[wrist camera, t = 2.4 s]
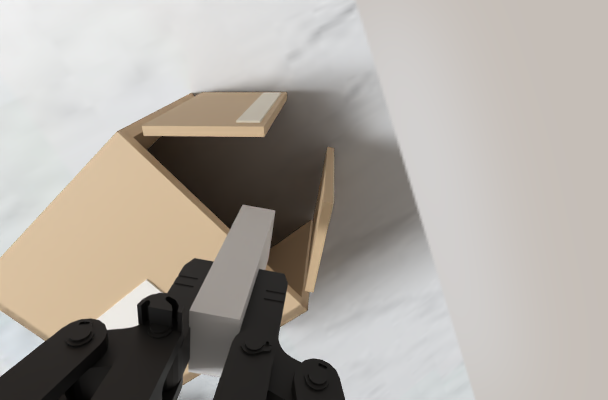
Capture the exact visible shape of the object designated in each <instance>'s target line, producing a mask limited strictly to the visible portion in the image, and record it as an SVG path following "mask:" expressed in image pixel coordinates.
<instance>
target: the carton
mask: <svg viewBox="0 0 608 400" xmlns="http://www.w3.org/2000/svg"><path fill="white" fill-rule="evenodd" d="M193 97H194V95H193V94H192V93H190V94H188V95H186V96H185V97H183V98H181V99H179V100H177V101H175V102H173V103H171V104H169V105H167V106H165V107H163V108H161V109H159V110H158V111H156V112H154V113H152V114H150V115H148V116H146V117H144V118H142V119H140V120H138V121H136V122H134V123H132V124H131V125H129V126H127V127H125V128H123V129H121V130H119V131H117V132H116V133H115V134H114V135H113V136H112V137H111V139H110V140H109V141H108V142H107V143H106V144H105V145H104V146H103V147H102V148H101V149H100V150H99V151H98V153H97V154H96V155H95V156H94V157H93V158H92V159H91V160H90V161H89V162H88V163H87V164H86V166H85V167H84V168H83V169H82V170H81V171H80V172H79V173H78V174H77V175H76V176H75V177H74V179H73V180H72V181H71V182H70V183H69V184H68V185H67V186H66V187H65V188H64V189H63V190H62V191H61V193H60V194H59V195H58V196H57V197H56V198H55V199H54V200H53V201H52V202H51V203H50V204H49V206H48V207H47V208H46V209H45V210H44V211H43V212H42V213H41V214H40V215H39V216H38V217H37V219H36V220H35V221H34V222H33V223H32V224H31V225H30V226H29V227H28V228H27V229H26V230H25V231H24V233H23V234H22V235H21V236H20V237H19V238H18V239H17V240H16V241H15V242H14V243H13V244H12V246H11V247H10V248H9V249H8V250H7V251H6V252H5V253H4V254H3V255H2V256H1V257H0V311H2V312H3V313H5V314H6V315H8V316H9V317H11V318H12V319H14V320H15V321H17V322H18V323H20V324H21V325H22V326H24V327H25V328H27V329H28V330H30V331H31V332H33V333H34V334H36V335H37V336H39V337H40V338H42V339H43V340H45V341H46V340H47V339H49V338H50V337H51V336H53V335H54V334H55V333H56V332H58V331H59V330H60V329H61V328H63V327H64V326H66V325H68V324H69V323H71V322H74V321H77V320H80V319H89V318H92V319H96V320H100V321H101V322H102V323H104V324H105V326H106V329H107V330H111V329H123V328H130V327H134V326H137V325H138V312H137V304H138V303H139V302H140V301H141V300H142V299H143V298H145V297H147V296H149V295H152V294H157V293H167V292H168V291H169V289H170V288H171V286H172V284H173V283H174V281H175V279H176V278H177V277H178V274H179V273H180V271H181V270H182V268H183V266H184V265H185V264H187V263H188V262H190V261H191V260H192V259H194V258H197V259H203V260H208V261H214V260H215V258H216V256H217V254H218V252H219V250H220V248H221V247H222V245H223V243H224V241H225V239H226V237H227V235H228V233H229V231H230V229H229V228H228V227H227V226H226V225H225V224H224V223H223V222H222V221H221V220H220V219H219V218H218V217H217V216H215V215H214V214H213V213H212V212H211V211H210V210H209V209H208V208H207V207H206V206H205V205H204V204H203V203H202V202H201V201H200V200H199V199H198V198H197V197H195V196H194V195H193V194H192V193H191V192H190V191H189V190H188V189H187V188H186V187H185V186H184V185H183V184H182V183H181V182H180V181H179V180H178V179H177V178H175V177H174V176H173V175H172V174H171V173H170V172H169V171H168V170H167V169H166V168H165V167H164V166H163V165H162V164H161V163H160V162H159V161H158V160H157V159H155V158H154V157H153V156H152V155H151V154H150V153H149V152H148V151H147V149H148V148H149V147H150V146H151V145H152V144H153V143H154V142H155V141H156V140H157V139H158V138H159V137H160V136H144V135H143V130H142V125H144V124H146V123H148V122H149V121H151V120H153V119H155V118H157V117H158V116H160V115H162V114H164V113H166V112H167V111H169V110H171V109H173V108H175V107H176V106H178V105H180V104H182V103H184V102H185V101H187V100H189V99H191V98H193ZM312 224H313V221H312V220H310V221H309V222H307V223H306V224H305V225H303V226H302V227H300V228H299V229H297V230H296V231H295V232H293V233H292V234H290V235H289V236H288V237H286V238H285V239H283V240H282V241H281V242H279V243H278V244H276V245H275V246H273V247H272V248H271V249H270V252H269V259H268V262H267V266H266V269H265V270H268V271H273V272H278V273H284V274H285V276H286V279H287V282H288V287H287V292H286V298H285V303H284V309H283V314H282V320H281V325H280V327H281V326H283V325H284V324H286V323H288V322H289V321H291V320H293V319H294V318H296V317H298V316H299V315H301V314H303V313H304V312H306V311H308V300H309V292H308V291H305V286H306V277H307V269H308V260H309V251H310V242H311V233H312ZM199 375H201V374H198V373H193V372H188V364H187V367H186V369H185V371H184V374H183V384H182V385H184V384H186V383H187V382H189V381H191V380H192V379H194V378H196V377H197V376H199Z"/></svg>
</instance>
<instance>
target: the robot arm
mask: <svg viewBox="0 0 608 400" xmlns="http://www.w3.org/2000/svg"><path fill="white" fill-rule="evenodd" d="M274 217H275V210H270V209H264V208H259V207H253V206H248V205H242V207H241V209H240V211H239V213H238V215H237V217H236V219H235V221H234V223H233V225H232V227H231V229H230V231H229V233H228V235H227V237H226V239H225V241H224V243H223V245H222V247H221V248H220V250H219V252H218V254H217V256H216V258H215V260H214V261H208V260H203V259H197V258H194V259H192V260H191V261H190V262H188V263H187V264H185V265H184V266H183V268H182V270H181V271H180V273H179V274H178V277H177V278H176V279H175V281H174V283H173V284H172V286H171V288H170V289H169V291H168V292H167V293H157V294H152V295H149V296H147V297H145V298H143V299H142V300H141V301H140V302H139V303H138V304H137V312H138V325H137V326H134V327H130V328H123V329H111V330H107V329H106V326H105V324H104V323H102V322H101V321H100V320H96V319H92V318H89V319H80V320H77V321H74V322H71V323H69V324H68V325H66V326H64V327H63V328H61V329H60V330H59V331H58V332H56V333H55V334H54V335H53V336H51V337H50V338H49V339H47V340H46V341H45V342H44V343H42V344H41V345H40V346H39V347H37V348H36V349H35V350H34V351H32V352H31V353H30V354H29V355H27V356H26V357H25V358H24V359H22V360H21V361H20V362H18V363H17V364H16V365H15V366H13V367H12V368H11V369H10V370H8V371H7V372H6V373H5V374H3V375H2V376H1V377H0V400H177V398H178V396H179V393H180V391H181V389H182V384H183V374H184V371H185V369H186V367H187V364H188V372H193V373H198V374H203V375H209V376H214V377H220V380H219V383H218V386H217V389H216V392H215V395H214V398H213V400H345V397H344V393H343V389H342V385H341V382H340V378H339V376H338V373H337V371H336V370H335V369H334V368H333V367H332V366H331V365H330V364H329V363H327V362H325V361H323V360H320V359H308V360H305V361H303V362H302V363H301V362H299V361H297V360H295V359H293V358H292V357H290V356H289V355H287V354H286V353H285V352H284V351H283V349H282V348H281V346H280V344H279V340H278V336H279V330H280V325H281V320H282V314H283V309H284V303H285V298H286V292H287V287H288V282H287V279H286V276H285V274H284V273H278V272H273V271H268V270H265V269H266V266H267V262H268V259H269V252H270V245H271V238H272V231H273V224H274Z"/></svg>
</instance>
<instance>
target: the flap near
mask: <svg viewBox="0 0 608 400" xmlns="http://www.w3.org/2000/svg"><path fill="white" fill-rule="evenodd" d="M286 100H287V92H202V93H200V94H198V95H196V96H194V97H193V98H191V99H189V100H187V101H185V102H184V103H182V104H180V105H178V106H176V107H175V108H173V109H171V110H169V111H167V112H166V113H164V114H162V115H160V116H158V117H157V118H155V119H153V120H151V121H149V122H148V123H146V124H144V125H142V130H143V135H144V136H218V137H265V135H266V134H267V132H268V130H269V129H270V127H271V125H272V124H273V122H274V120H275V119H276V117H277V115H278V114H279V112H280V110H281V109H282V107H283V105H284V104H285V102H286Z"/></svg>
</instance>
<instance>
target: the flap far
mask: <svg viewBox="0 0 608 400" xmlns="http://www.w3.org/2000/svg"><path fill="white" fill-rule="evenodd" d="M334 156H335V155H334V148H332V147H327V151H326V156H325V161H324V166H323V171H322V176H321V181H320V186H319V191H318V196H317V201H316V206H315V211H314V216H313V224H312V233H311V242H310V251H309V260H308V269H307V277H306V286H305V291H308V292H314V287H315V283H316V278H317V274H318V269H319V265H320V260H321V256H322V251H323V247H324V242H325V238H326V234H327V229H328V225H329V222H330V219H331V214H332V210H333V205H334Z"/></svg>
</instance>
